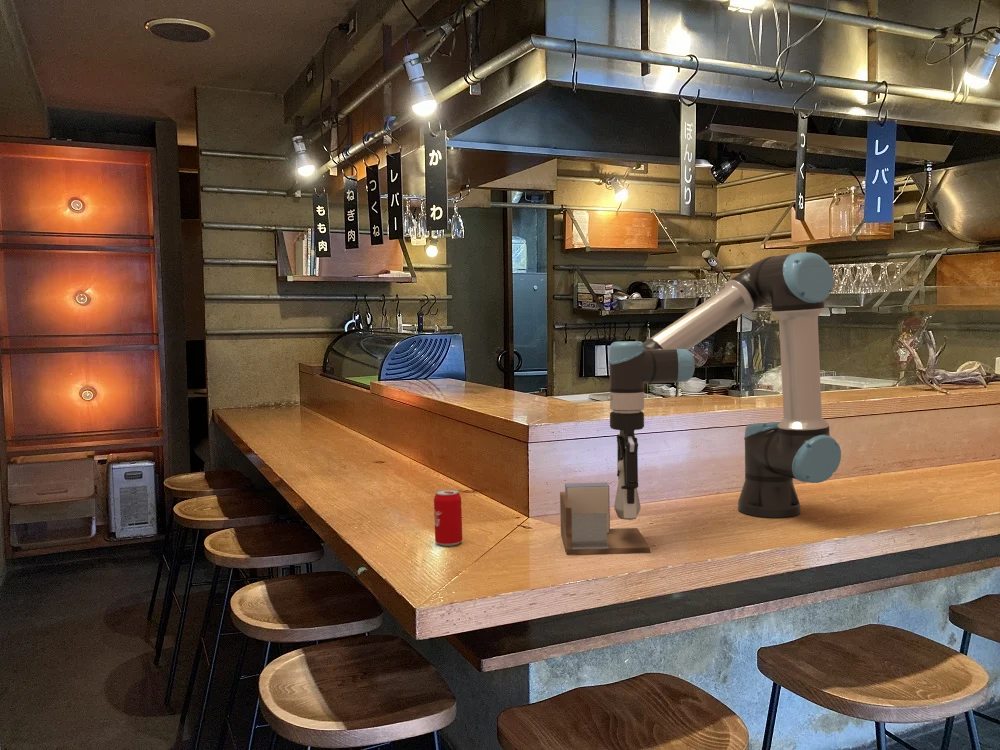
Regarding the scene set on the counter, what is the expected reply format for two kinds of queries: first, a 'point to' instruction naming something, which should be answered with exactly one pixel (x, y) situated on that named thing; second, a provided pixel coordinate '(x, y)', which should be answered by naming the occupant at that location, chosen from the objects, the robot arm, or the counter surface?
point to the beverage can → (448, 517)
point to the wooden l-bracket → (616, 539)
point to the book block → (589, 498)
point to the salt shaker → (619, 495)
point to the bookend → (589, 531)
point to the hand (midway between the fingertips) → (627, 513)
